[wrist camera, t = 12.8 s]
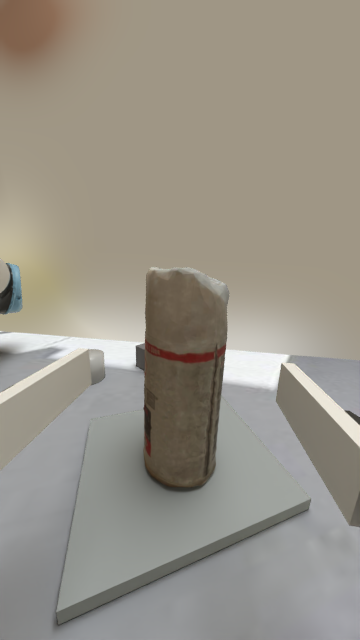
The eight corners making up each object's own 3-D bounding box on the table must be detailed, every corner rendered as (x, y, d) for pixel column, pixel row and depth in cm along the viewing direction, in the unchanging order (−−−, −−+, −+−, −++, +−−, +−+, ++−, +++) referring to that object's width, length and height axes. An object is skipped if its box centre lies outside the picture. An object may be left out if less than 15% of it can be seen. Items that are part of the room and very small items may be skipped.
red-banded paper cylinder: (158, 418, 26) (158, 269, 22) (219, 430, 24) (232, 270, 20) (127, 478, 18) (118, 263, 14) (213, 505, 16) (233, 264, 12)
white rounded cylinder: (69, 388, 35) (66, 363, 34) (75, 372, 40) (73, 350, 39) (104, 383, 37) (102, 359, 36) (105, 369, 42) (104, 348, 41)
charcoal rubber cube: (149, 373, 41) (149, 352, 40) (136, 366, 44) (135, 345, 43) (166, 366, 45) (167, 346, 43) (153, 359, 48) (153, 340, 47)
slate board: (58, 624, 11) (56, 612, 11) (91, 426, 26) (90, 419, 26) (308, 508, 17) (311, 498, 17) (220, 401, 32) (221, 395, 32)
